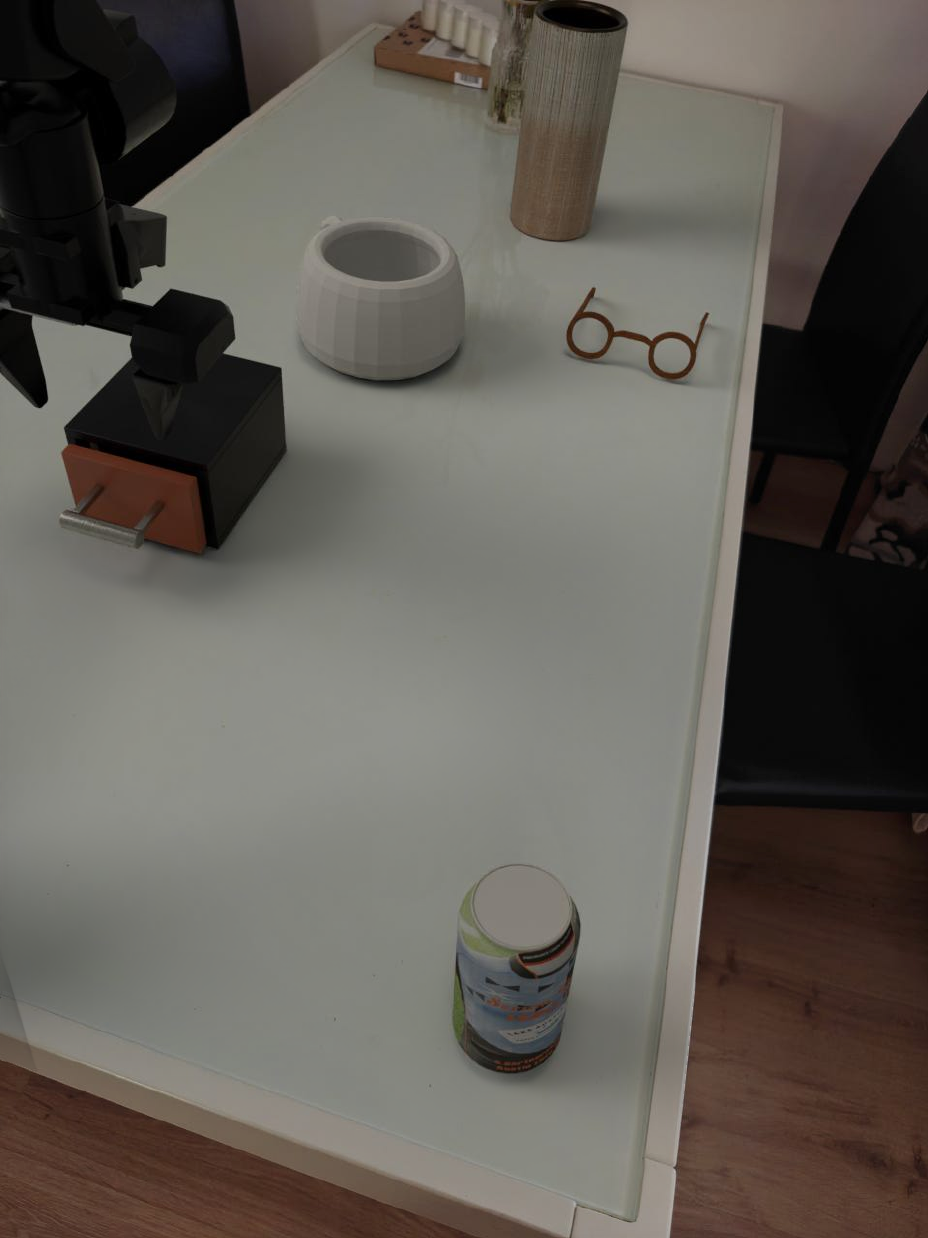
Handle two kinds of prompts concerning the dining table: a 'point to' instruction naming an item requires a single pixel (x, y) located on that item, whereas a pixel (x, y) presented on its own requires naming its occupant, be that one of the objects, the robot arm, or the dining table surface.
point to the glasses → (633, 336)
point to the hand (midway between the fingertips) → (102, 420)
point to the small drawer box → (200, 432)
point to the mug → (380, 298)
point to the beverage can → (514, 967)
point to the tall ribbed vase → (566, 116)
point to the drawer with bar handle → (133, 498)
